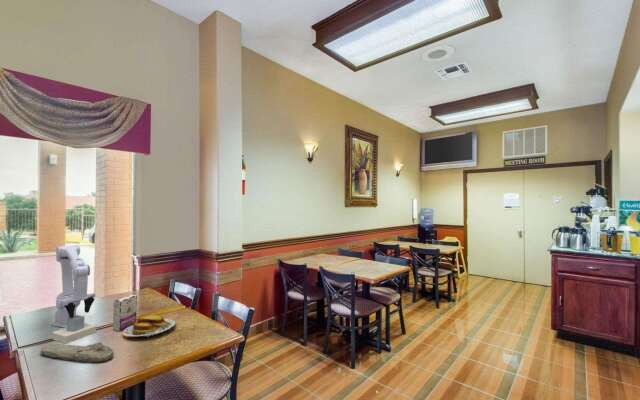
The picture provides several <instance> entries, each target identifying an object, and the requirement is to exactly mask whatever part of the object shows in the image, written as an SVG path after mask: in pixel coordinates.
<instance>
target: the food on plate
mask: <svg viewBox="0 0 640 400" xmlns="http://www.w3.org/2000/svg"><path fill="white" fill-rule="evenodd" d="M175 325H176V321H175V320H173V319H169V318H164V317H163V316H162V315H159V314H146V315H143V316H140V317H138V318H137V320H136V322H135V323H134V325H132V326H130V327H127V328H126V329H124V330H122V331H123V332H122V334H121V335H123V336H124V337H125V340H128V338H133V337H147V338H149V337H150V336H154V335H158V334H160V333H163V332H164V331H165V332H166V331H167V330H171V328H172V327H174V326H175Z"/></svg>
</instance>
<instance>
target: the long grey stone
mask: <svg viewBox="0 0 640 400" xmlns="http://www.w3.org/2000/svg"><path fill="white" fill-rule="evenodd" d="M39 354H40V355H41V356H45V357H50V358H54V359H60V360H64V361H76V362H85V363H86V362H87V363H93V364H94V362H97V363H99V362H106V361H108V360H110V359H111V358H112V357H114V355H115V353H114V351H113V349H112V348H110V346H107V345H104V344H102V342H95V343H93V344H87V345H72V344H65V343H62V344H60V343H59V342H58V343H53V344H49V345H45V346H44V347H42V348H41V350H40V352H39Z"/></svg>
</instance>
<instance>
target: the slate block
mask: <svg viewBox="0 0 640 400" xmlns="http://www.w3.org/2000/svg"><path fill="white" fill-rule="evenodd" d="M84 323H85V315H78V314H76V316H74V317H73V318H68V319H67V327H66V328H67V329H66V331H72V332H75V331H77V330H80V329H82V328H84Z"/></svg>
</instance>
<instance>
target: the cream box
mask: <svg viewBox="0 0 640 400" xmlns="http://www.w3.org/2000/svg"><path fill="white" fill-rule="evenodd" d="M66 329H67V327H65V328H64V327H63V328H62V329H58V330H56V331H52V332H51V340H52V339H53V341H56V342H58V343H62V344H65V345H67V344H69V343H71V341H72V342H74V341H77V340H80V339H83V338H84V337H87V336H90V335H94V334H96V333H97V325H93V324H90V323H86V322H84V328H82V329H80V330H77V331H75V332H72V331H66Z"/></svg>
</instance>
